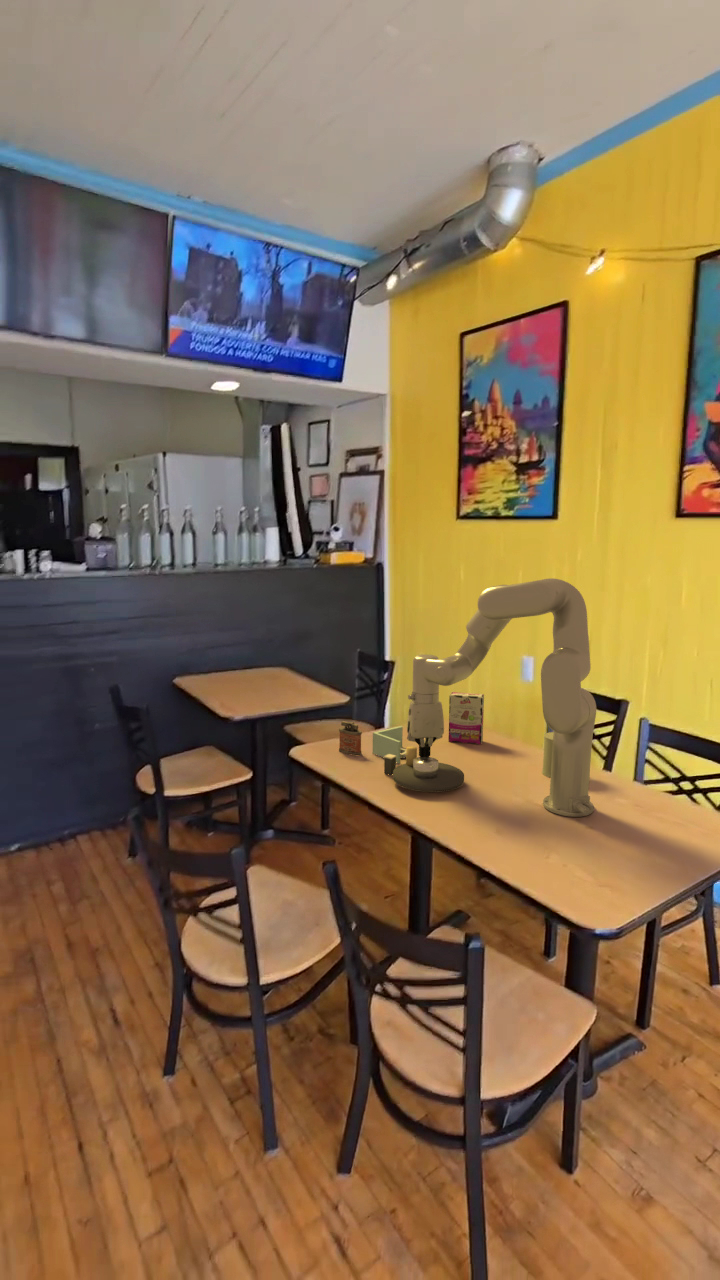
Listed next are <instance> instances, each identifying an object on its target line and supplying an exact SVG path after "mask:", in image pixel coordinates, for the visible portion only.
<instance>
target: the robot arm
mask: <svg viewBox="0 0 720 1280" xmlns="http://www.w3.org/2000/svg"><path fill="white" fill-rule="evenodd" d="M585 601H586V600H585V599H584V597H583V595H582V594H581V592H580V591H579V589H578V588H577V587H575V586H574V585H573V584H571V583H569V582H568V581H565V580H563V579H558V578H552V577H551V578H544V579H538V580H533V581H526V582H521V583H520V582H519V583H514V584H500V585H499V584H498V585H493V586H490V587H487V588H486V589H484V590H483V591H481V593H480V595H479V597H478V600H477V610H476V611H475V613H474V614H473V615H472V617H471V618H470V619H469V621H468V622H467V623H466V625H465V628H466V629H465V630H466V632H467V637H466V639H465V641H464V642H463V643H462V645H461V646H460V648H459V649H458V650H457V652H455V653H454V654H453V655H451V656H447V657H445V658H444V657H443V658H441V659H440V658H439V657H438V656H436V655H433V654H418V655H415V657H413V659H412V691H411V694H408V695H407V699H408V700H409V701H410V700H411V701H410V703H409V707H408V714H407V721H406V723H407V724H406V732H407V737H406V739H407V740H408V741H409V742H414V743H416V744H417V745H418V757H431V747H432V746H433V745H434V743H435V742H436V741H438V740H439V739H443V736H444V733H445V721H444V718H445V717H444V711H443V710H444V709H443V704H442V701H440V699H439V697H440V696H439V695H440V694H439V693H440V686H443V687H448V686H453V685H454V684H457V683H459V682H461V681H465V680H466V679H467V678H469V677H470V676H471V675H472V674H473V673H474V671H476V670H477V668H478V667H479V666H480V664H481V663H482V662H483V660H484V659H485V658H486V657H487V655H488V652H489V651H490V649H491V647H492V644H493V643H494V642H495V640H496V639H497V638H498V636H499V635H500V634H501V633H502V631H503V630H504V629H505V628H506V626H507V625H508V624H509V623H510V622H511V620H512V619H519V618H528V617H529V618H530V617H536V616H542V615H546V614H549V613H552V616H553V623H552V624H553V625H552V639H553V642H552V643H553V651H552V652H551V653H549V654H548V655H547V656H546V657H545V658H544V660H543V663H542V665H541V669H540V687H541V689H540V690H541V704H542V706H541V707H542V715H543V718H544V721H545V723H546V725H547V726H548V728H549V729H551V730H552V732H554V735H553V747H552V763H551V778H550V781H549V782H550V783H549V795H547V796H545V797H544V798H543V799H542V805H543V807H544V809H546V810H547V811H548V812H551V813H553V814H556V815H558V816H565V817H569V818H570V817H574V818H579V817H587V816H590V815H591V814H593V812H594V811H595V808H596V807H595V805H594V804H593V803H592V801H591V796H590V795H589V792H590V791H589V788H590V774H591V760H592V747H593V746H592V745H593V736H594V735H593V734H594V729H595V722H596V716H597V703H596V700H595V698H594V696H593V694H592V693H591V692H590V691H589V690H586V689H585V688H582V685H581V684H582V683H581V682H583V681H584V680H586V679H587V677H588V676H589V674H590V671H591V668H592V667H591V655H590V653H591V652H590V637H589V627H588V626H589V625H588V611H587V605H586V602H585Z"/></svg>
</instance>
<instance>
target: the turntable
mask: <svg viewBox="0 0 720 1280" xmlns="http://www.w3.org/2000/svg"><path fill="white" fill-rule="evenodd" d="M405 749H406V758H405V759H406V760H405V761H406V762H405V763H403V764H402V763H401V764H399V765H398V766H396V768H395V769H394V770H393V775H392V780H393V782H395V784H397V785H398V786H400V787H402V788H403V789H407V790H411V791H416V792H423V793H441V792H442V793H443V792H449V791H452V790H456V789H458V788H460V787H462V785H464V783H465V773H464V772H463V770H461V769H460V768H458V767H456V766H454V765H451V764H448V763H443V762H439V761H438V776H437V777H436V778H433V779H421V778H417V777H415V776H414V775H413V760H414V759H415V758H418V757H417V754H418V748H417V747H416V746H414V745H413V746H412V745H411V746H406V748H405Z"/></svg>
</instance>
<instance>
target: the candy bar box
mask: <svg viewBox="0 0 720 1280" xmlns="http://www.w3.org/2000/svg"><path fill="white" fill-rule="evenodd" d="M448 701H449V702H448V704H449V707H448V708H449V710H448V715H449V716H448V742H449V743H457V744H458V743H460V744H470V745H482V743H483V740H484V711H485V710H484V707H485V706H484V703H485V694H484V693H483V694H482V693H470V692H469V693H468V692H455V691H453V692H451V693H450V694H449V699H448Z"/></svg>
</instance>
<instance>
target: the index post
mask: <svg viewBox="0 0 720 1280" xmlns="http://www.w3.org/2000/svg"><path fill="white" fill-rule="evenodd" d="M383 760H384V763H383V766H384V769H383V770H384V772H383V773H385V774H384V775H387V774H389V775H388V776H393V775H392V774H393V770H394V769H395V768H396V767H397V763H396V755H392V754H388V755H386V756H384V758H383Z"/></svg>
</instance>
